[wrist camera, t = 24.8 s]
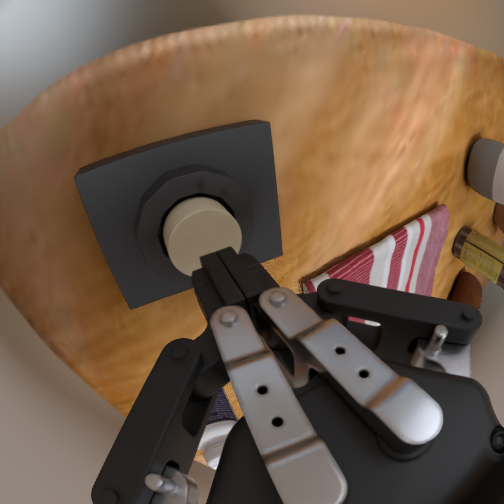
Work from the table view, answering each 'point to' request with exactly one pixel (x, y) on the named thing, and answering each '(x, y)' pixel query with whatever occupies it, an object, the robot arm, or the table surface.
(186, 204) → the spray button
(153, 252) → the block
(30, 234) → the table surface
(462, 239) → the sauce bottle
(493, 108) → the table surface
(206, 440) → the pill bottle
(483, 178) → the smart speaker
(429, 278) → the dish towel
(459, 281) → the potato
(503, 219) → the vase
